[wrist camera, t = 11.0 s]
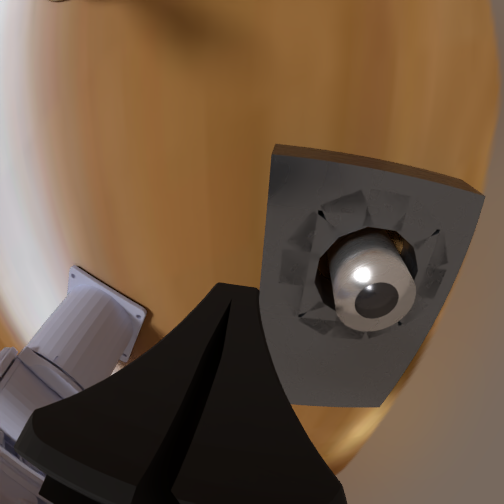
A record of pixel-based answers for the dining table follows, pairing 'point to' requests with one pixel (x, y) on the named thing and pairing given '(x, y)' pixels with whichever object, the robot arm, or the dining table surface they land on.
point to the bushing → (369, 280)
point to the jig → (320, 289)
